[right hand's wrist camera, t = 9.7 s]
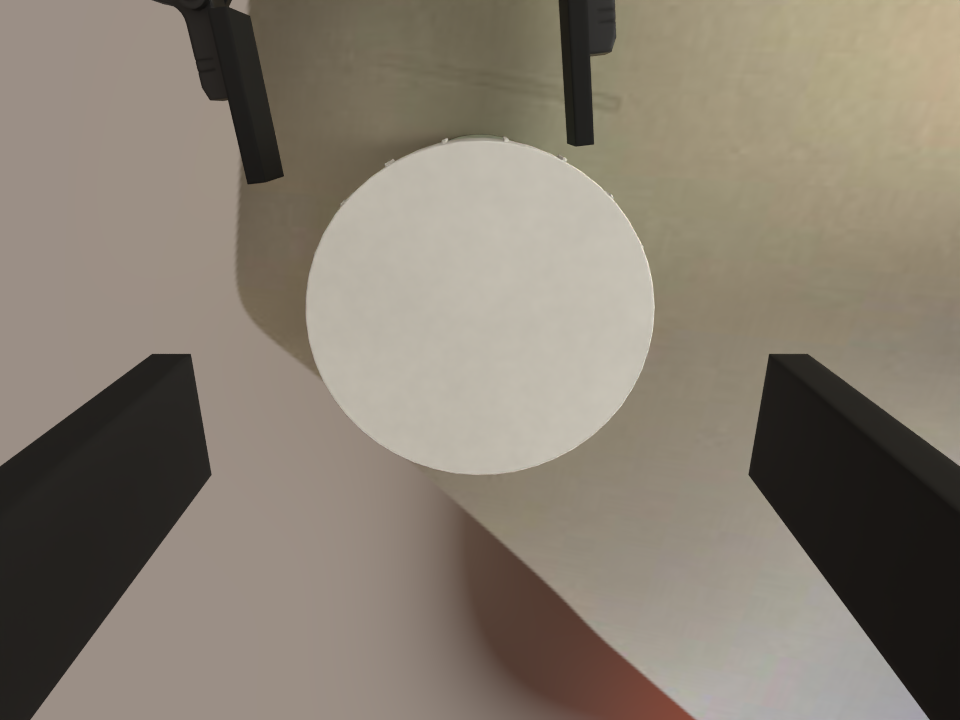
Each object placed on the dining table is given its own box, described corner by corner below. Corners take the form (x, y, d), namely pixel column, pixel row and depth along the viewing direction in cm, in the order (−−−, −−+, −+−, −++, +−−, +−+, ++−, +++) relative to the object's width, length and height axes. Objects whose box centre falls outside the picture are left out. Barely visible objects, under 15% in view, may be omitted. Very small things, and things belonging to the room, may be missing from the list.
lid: (708, 253, 20) (731, 267, 18) (526, 496, 23) (530, 528, 21) (421, 63, 18) (414, 57, 16) (265, 355, 21) (246, 377, 19)
